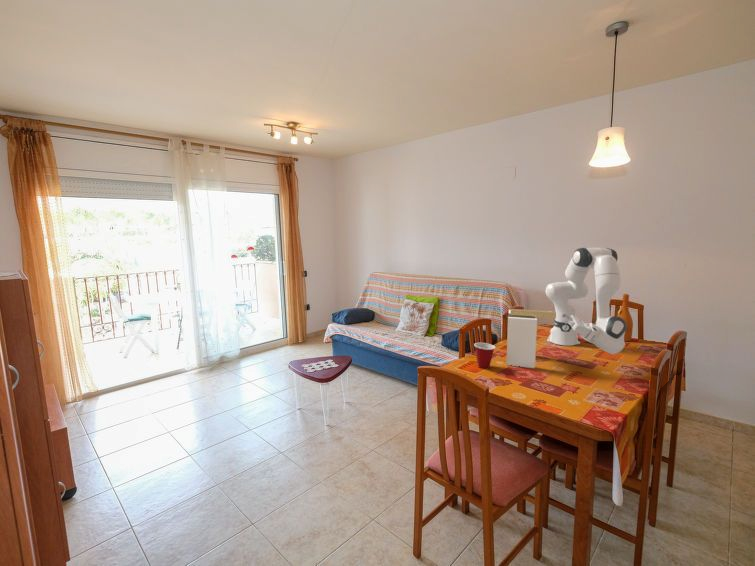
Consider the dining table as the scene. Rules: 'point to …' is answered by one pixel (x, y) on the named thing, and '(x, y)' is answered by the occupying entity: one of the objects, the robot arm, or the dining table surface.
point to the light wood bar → (533, 313)
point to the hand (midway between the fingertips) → (563, 316)
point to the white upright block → (521, 341)
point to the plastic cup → (484, 354)
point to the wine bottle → (626, 317)
